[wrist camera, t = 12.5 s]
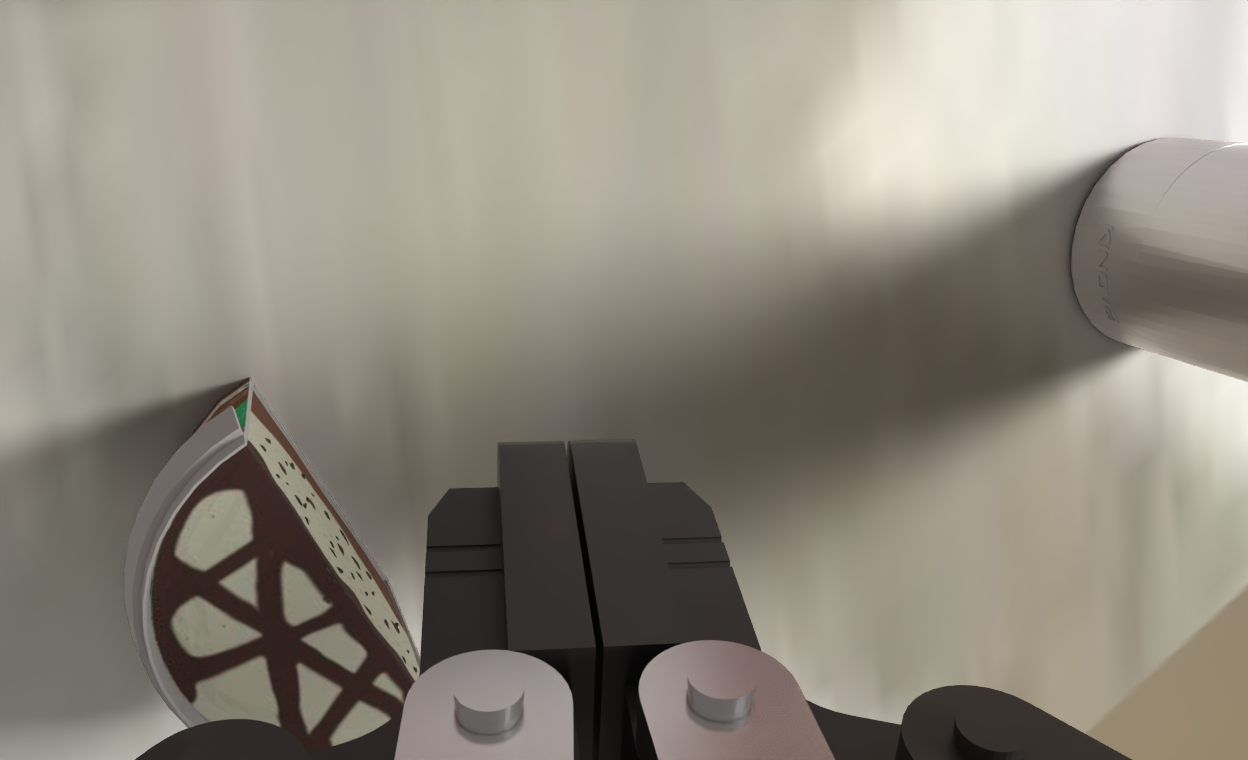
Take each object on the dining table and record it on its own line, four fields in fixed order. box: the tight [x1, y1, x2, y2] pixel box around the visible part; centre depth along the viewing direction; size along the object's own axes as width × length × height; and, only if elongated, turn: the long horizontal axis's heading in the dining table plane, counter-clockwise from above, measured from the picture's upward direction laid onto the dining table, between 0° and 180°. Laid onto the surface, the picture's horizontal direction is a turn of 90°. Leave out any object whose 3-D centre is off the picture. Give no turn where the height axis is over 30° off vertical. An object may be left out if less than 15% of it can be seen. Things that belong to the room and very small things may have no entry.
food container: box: [123, 378, 421, 753], centre depth 37 cm, size 12×6×10 cm, turn 27°
